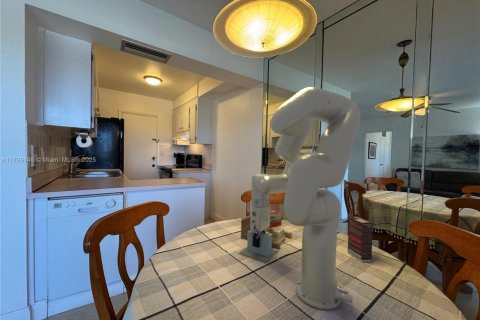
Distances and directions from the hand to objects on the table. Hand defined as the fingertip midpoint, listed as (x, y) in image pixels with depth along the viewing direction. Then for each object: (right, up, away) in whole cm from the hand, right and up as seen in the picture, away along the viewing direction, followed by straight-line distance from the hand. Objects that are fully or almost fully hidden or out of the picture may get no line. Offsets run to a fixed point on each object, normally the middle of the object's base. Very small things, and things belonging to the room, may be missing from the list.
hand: (259, 244), depth 85 cm
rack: (+5, -4, +16) cm, 17 cm away
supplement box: (+42, -5, -2) cm, 42 cm away
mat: (0, -4, 0) cm, 4 cm away
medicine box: (+8, -4, +35) cm, 36 cm away
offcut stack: (+11, -4, +12) cm, 17 cm away
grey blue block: (0, -3, 0) cm, 3 cm away
